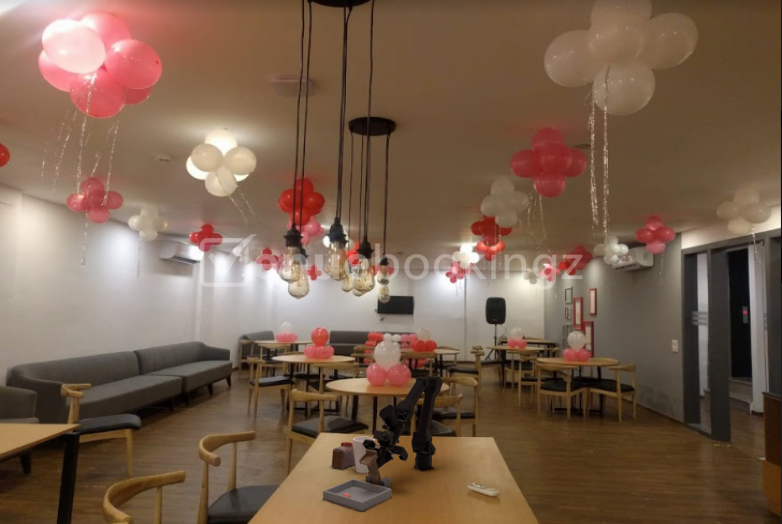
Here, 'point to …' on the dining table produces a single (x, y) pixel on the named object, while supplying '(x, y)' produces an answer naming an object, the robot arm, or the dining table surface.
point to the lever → (371, 465)
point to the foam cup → (360, 453)
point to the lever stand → (380, 481)
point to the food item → (343, 456)
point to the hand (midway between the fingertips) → (375, 469)
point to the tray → (357, 494)
